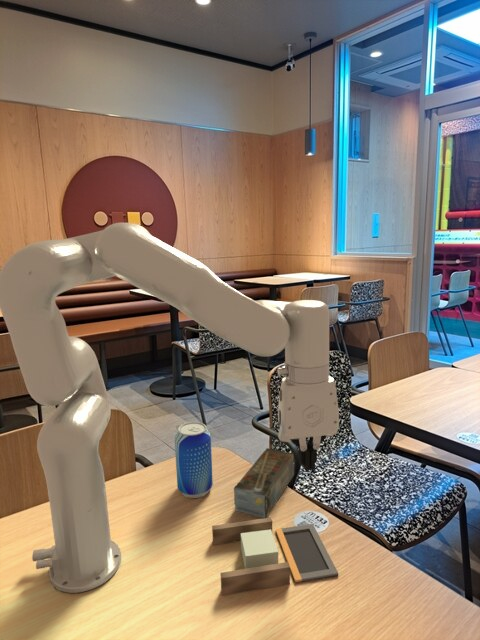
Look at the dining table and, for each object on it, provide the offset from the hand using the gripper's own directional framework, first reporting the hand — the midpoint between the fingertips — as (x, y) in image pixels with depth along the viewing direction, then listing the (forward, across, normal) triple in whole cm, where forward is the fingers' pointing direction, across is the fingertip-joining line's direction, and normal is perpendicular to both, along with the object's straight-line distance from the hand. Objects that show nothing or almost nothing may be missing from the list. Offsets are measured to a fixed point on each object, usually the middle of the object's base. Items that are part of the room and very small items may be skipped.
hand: (307, 466), depth 80 cm
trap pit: (+18, -1, 0) cm, 18 cm away
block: (+18, -10, 0) cm, 21 cm away
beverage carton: (+19, -3, +21) cm, 28 cm away
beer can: (+18, -20, +25) cm, 37 cm away
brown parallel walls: (+18, -12, 0) cm, 22 cm away
